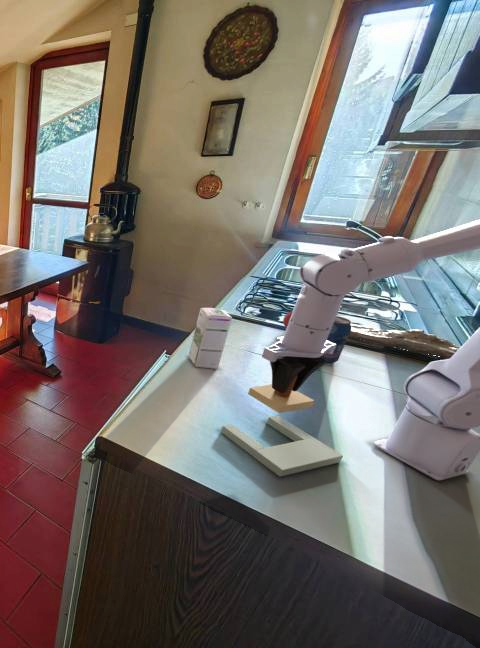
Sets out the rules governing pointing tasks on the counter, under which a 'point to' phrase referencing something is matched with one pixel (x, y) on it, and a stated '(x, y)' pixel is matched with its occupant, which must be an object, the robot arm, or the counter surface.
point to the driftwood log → (405, 341)
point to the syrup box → (209, 337)
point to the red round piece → (287, 319)
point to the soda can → (337, 338)
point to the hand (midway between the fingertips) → (284, 389)
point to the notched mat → (285, 449)
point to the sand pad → (281, 398)
